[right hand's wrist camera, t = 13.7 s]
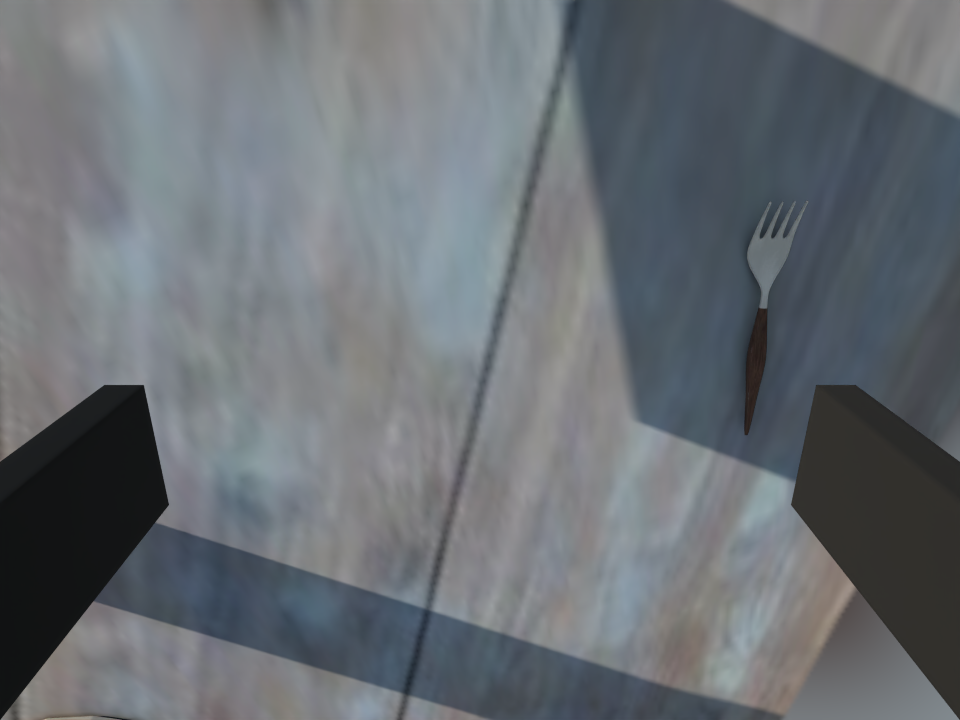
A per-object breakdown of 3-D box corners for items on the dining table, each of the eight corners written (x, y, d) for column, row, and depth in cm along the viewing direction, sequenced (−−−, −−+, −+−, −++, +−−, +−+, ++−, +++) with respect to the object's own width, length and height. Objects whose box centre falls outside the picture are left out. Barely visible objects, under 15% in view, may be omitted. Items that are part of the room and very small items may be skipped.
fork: (724, 431, 44) (734, 446, 43) (753, 197, 39) (766, 201, 37) (761, 430, 44) (774, 444, 43) (796, 196, 39) (812, 200, 37)
